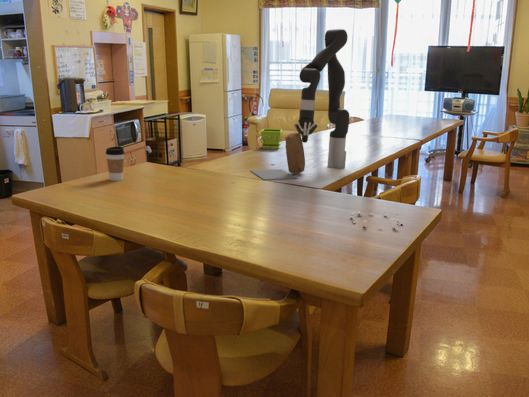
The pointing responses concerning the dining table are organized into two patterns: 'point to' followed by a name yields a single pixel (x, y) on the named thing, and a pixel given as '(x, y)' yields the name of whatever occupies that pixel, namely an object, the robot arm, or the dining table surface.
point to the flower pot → (271, 138)
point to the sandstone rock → (295, 153)
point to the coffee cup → (115, 162)
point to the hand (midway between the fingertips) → (304, 142)
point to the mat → (273, 174)
